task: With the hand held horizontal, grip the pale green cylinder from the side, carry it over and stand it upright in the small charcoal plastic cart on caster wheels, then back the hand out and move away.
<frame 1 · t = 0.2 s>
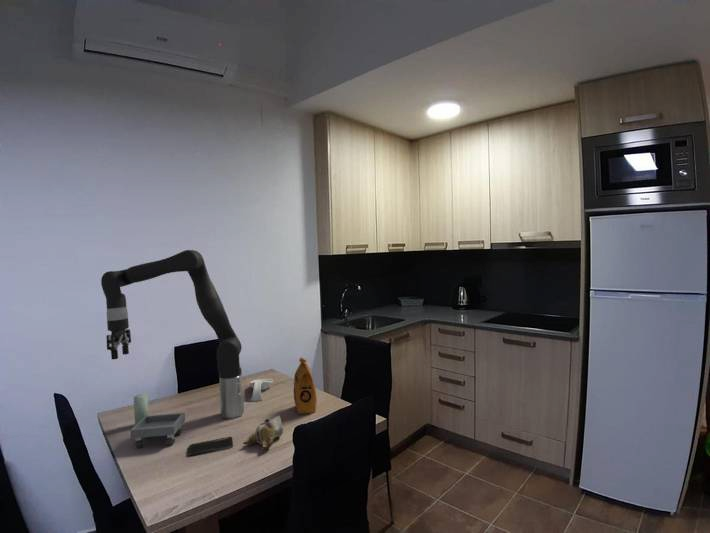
hand: (120, 356, 157), 29 cm above the table, fingers open, 8 cm apart
pale green cylinder: (142, 424, 156), on the table
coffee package: (305, 409, 166), on the table
white t-shaped piece: (260, 393, 189), on the table
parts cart: (159, 440, 141), on the table
ceramic sculpture: (267, 443, 138), on the table
phone: (211, 448, 135), on the table
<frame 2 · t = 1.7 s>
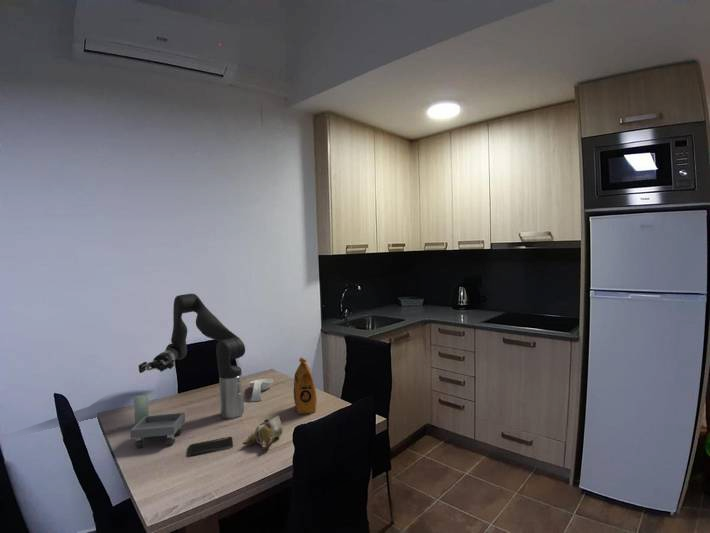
hand: (150, 370, 166), 20 cm above the table, fingers open, 8 cm apart
nothing on the table moved.
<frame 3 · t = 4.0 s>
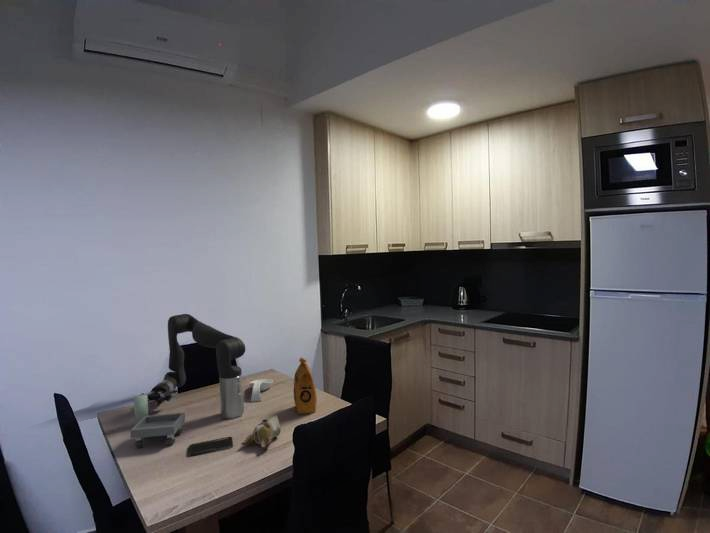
hand: (147, 403, 162), 6 cm above the table, fingers open, 8 cm apart
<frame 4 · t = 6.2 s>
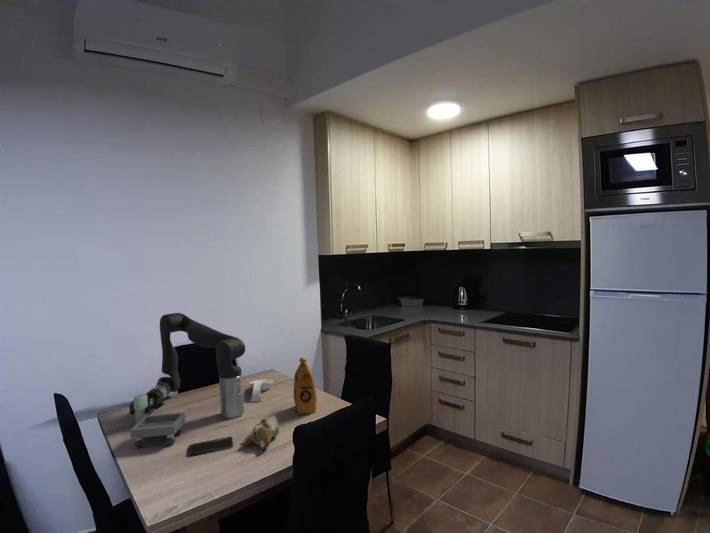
hand: (138, 411, 153), 7 cm above the table, fingers closed on pale green cylinder, 5 cm apart
pale green cylinder: (142, 424, 156), on the table, touching gripper
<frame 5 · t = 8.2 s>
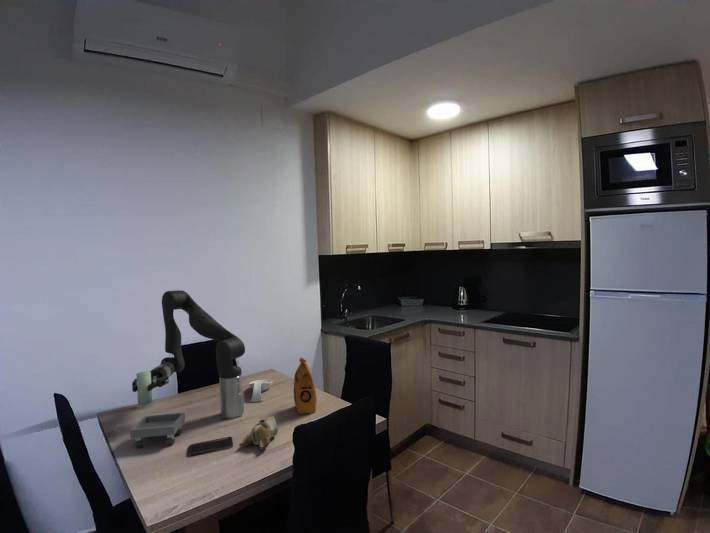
hand: (141, 388, 147), 18 cm above the table, fingers closed on pale green cylinder, 5 cm apart
pale green cylinder: (145, 402, 150), point 11 cm above the table, touching gripper
when the fingers open (13 cm above the table, at t = 10.2 s): pale green cylinder drops 1 cm, resting on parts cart.
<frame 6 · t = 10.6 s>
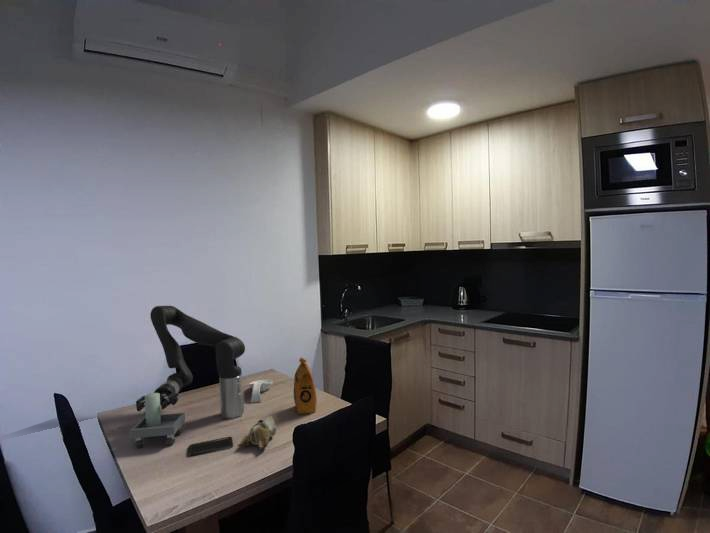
hand: (150, 408, 139), 14 cm above the table, fingers open, 8 cm apart
pale green cylinder: (153, 426, 141), point 6 cm above the table, touching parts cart
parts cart: (159, 440, 141), on the table, touching pale green cylinder
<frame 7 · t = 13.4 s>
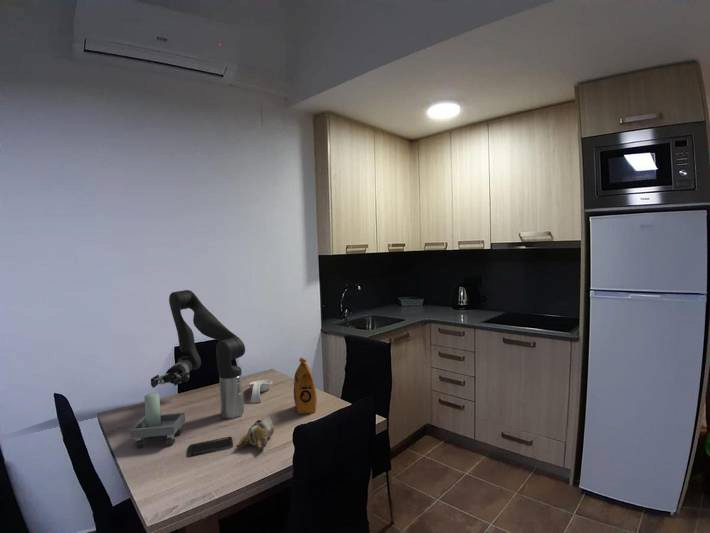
hand: (164, 384, 152), 18 cm above the table, fingers open, 8 cm apart
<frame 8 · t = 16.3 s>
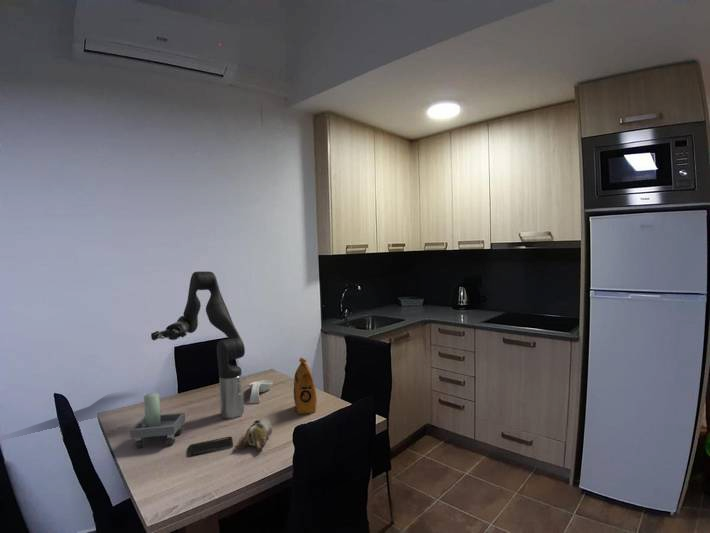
hand: (163, 337, 166), 34 cm above the table, fingers open, 8 cm apart
at the end: pale green cylinder inside the target area on the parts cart (1.9 cm from its centre), point 5.5 cm above the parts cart's base; pale green cylinder tilted 1°; the gripper is holding nothing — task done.
